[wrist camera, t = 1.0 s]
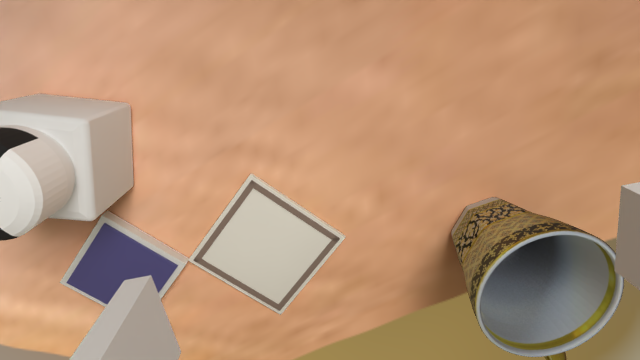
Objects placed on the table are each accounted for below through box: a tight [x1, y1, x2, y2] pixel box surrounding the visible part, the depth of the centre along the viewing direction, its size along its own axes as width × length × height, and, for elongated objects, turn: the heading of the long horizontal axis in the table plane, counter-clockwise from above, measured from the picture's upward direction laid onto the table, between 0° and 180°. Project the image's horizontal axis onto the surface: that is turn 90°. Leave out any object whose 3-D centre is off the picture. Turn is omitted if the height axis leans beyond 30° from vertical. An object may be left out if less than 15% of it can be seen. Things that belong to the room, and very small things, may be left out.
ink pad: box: [60, 210, 189, 307], centre depth 36 cm, size 8×8×1 cm
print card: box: [188, 173, 346, 315], centre depth 36 cm, size 10×10×1 cm
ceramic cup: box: [451, 197, 624, 360], centre depth 33 cm, size 13×10×10 cm
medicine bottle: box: [0, 94, 134, 240], centre depth 27 cm, size 7×7×12 cm
